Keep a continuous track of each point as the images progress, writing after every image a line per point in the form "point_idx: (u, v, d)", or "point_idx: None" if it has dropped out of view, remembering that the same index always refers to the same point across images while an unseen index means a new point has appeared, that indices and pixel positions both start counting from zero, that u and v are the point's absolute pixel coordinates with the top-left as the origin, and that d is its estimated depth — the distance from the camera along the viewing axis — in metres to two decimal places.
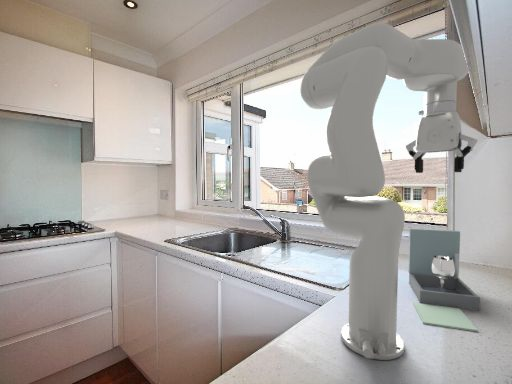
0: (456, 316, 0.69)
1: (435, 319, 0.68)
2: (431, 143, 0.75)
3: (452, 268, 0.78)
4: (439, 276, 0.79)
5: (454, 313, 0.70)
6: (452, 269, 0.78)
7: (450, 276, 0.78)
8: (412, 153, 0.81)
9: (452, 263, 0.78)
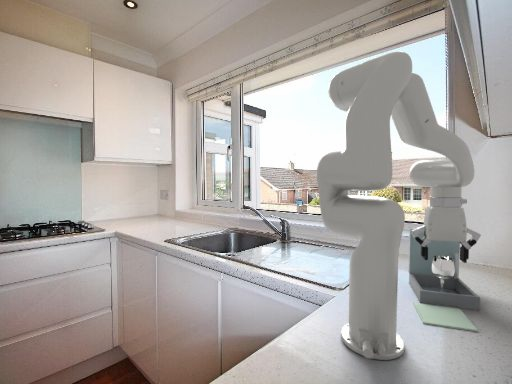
0: (456, 316, 0.69)
1: (435, 319, 0.68)
2: None
3: (452, 268, 0.78)
4: (439, 276, 0.79)
5: (454, 313, 0.70)
6: (452, 269, 0.78)
7: (450, 276, 0.78)
8: None
9: (452, 263, 0.78)
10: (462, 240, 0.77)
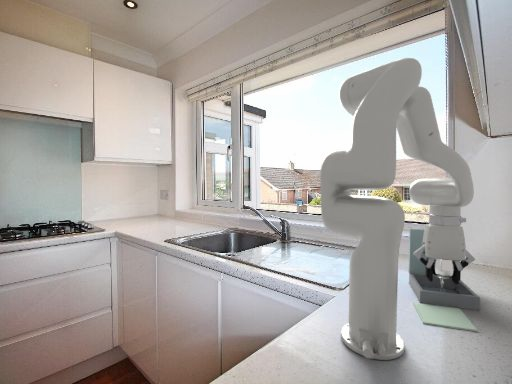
0: (456, 316, 0.69)
1: (435, 319, 0.68)
2: None
3: (452, 268, 0.78)
4: (439, 276, 0.79)
5: (454, 313, 0.70)
6: (452, 269, 0.78)
7: (450, 276, 0.78)
8: None
9: (452, 263, 0.78)
10: (461, 259, 0.77)
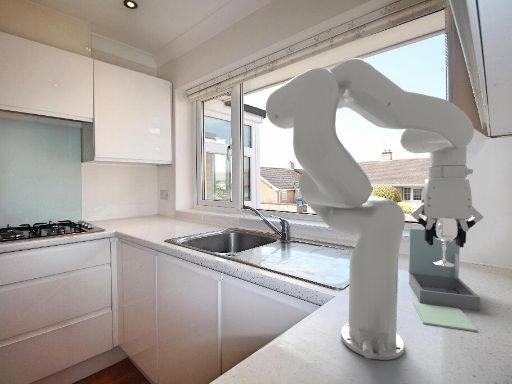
0: (456, 316, 0.69)
1: (435, 319, 0.68)
2: None
3: (456, 228, 0.66)
4: (441, 238, 0.67)
5: (454, 313, 0.70)
6: (456, 229, 0.66)
7: (454, 237, 0.66)
8: None
9: (456, 222, 0.66)
10: (466, 217, 0.65)
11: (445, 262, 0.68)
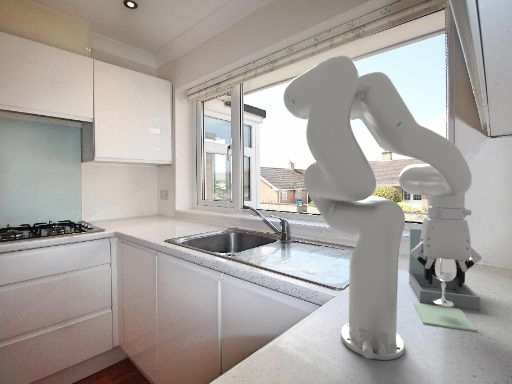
0: (456, 316, 0.69)
1: (435, 319, 0.68)
2: None
3: (455, 268, 0.67)
4: (440, 278, 0.68)
5: (454, 313, 0.70)
6: (455, 270, 0.67)
7: (453, 278, 0.67)
8: None
9: (455, 263, 0.67)
10: (465, 258, 0.66)
11: (444, 301, 0.69)
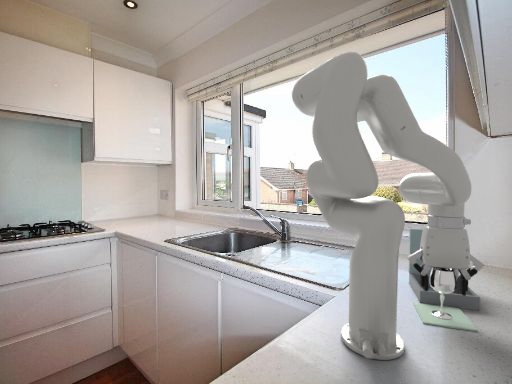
0: (456, 316, 0.69)
1: (435, 319, 0.68)
2: None
3: (454, 281, 0.67)
4: (439, 290, 0.68)
5: (454, 313, 0.70)
6: (454, 283, 0.67)
7: (451, 291, 0.67)
8: None
9: (454, 275, 0.67)
10: (465, 267, 0.66)
11: (443, 314, 0.69)
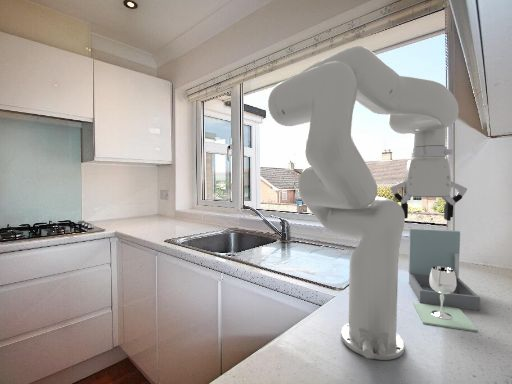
0: (456, 316, 0.69)
1: (435, 319, 0.68)
2: None
3: (454, 281, 0.67)
4: (438, 291, 0.68)
5: (454, 313, 0.70)
6: (453, 283, 0.67)
7: (451, 291, 0.67)
8: None
9: (453, 276, 0.67)
10: (445, 194, 0.69)
11: (443, 314, 0.69)
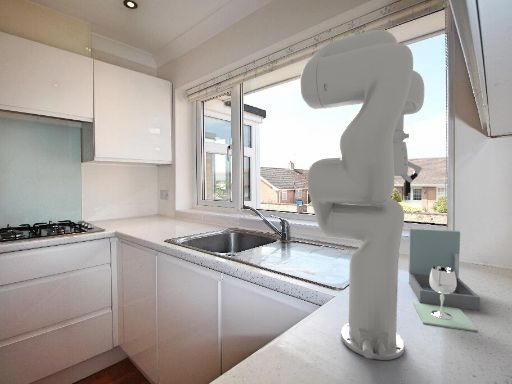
0: (456, 316, 0.69)
1: (435, 319, 0.68)
2: None
3: (454, 281, 0.67)
4: (438, 291, 0.68)
5: (454, 313, 0.70)
6: (454, 283, 0.67)
7: (451, 291, 0.67)
8: None
9: (454, 276, 0.67)
10: (403, 173, 0.79)
11: (443, 314, 0.69)
